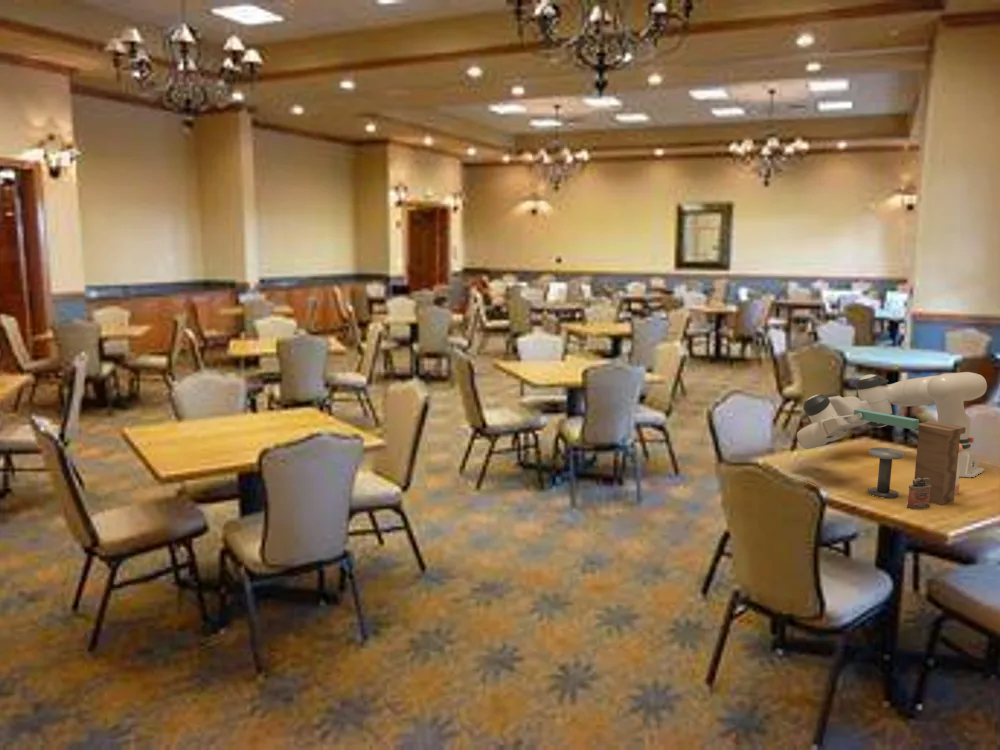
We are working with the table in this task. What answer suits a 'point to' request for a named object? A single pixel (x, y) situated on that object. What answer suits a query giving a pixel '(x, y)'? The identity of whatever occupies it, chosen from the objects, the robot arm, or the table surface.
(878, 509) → the table surface
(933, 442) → the tall stand
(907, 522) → the table surface
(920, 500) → the lighter
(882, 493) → the cake stand
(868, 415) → the rod
